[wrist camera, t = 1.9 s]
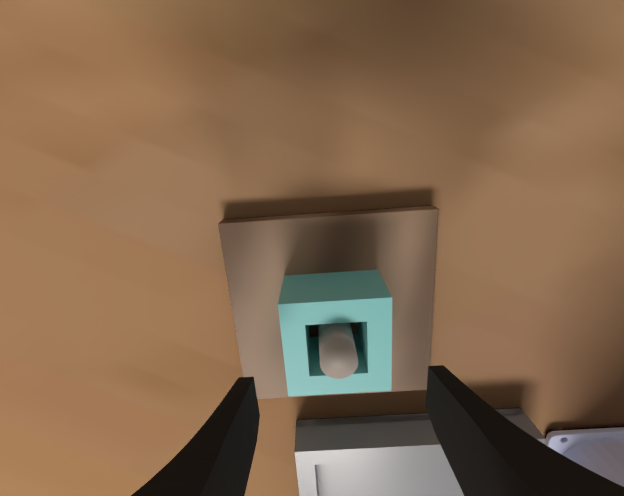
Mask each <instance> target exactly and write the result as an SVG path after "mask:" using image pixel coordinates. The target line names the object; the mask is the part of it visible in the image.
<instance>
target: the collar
mask: <svg viewBox="0 0 624 496" xmlns="http://www.w3.org/2000/svg"><path fill="white" fill-rule="evenodd" d="M278 311H279V320H280V329H281V337H282V346H283V355H284V364H285V373H286V381H287V390H288V397H289V396H307V395H325V394H343V393H361V392H379V391H391V383H392V296H391V294H390V292H389V290H388V288H387V286H386V284H385V282H384V281H383V279H382V277H381V275H380V273H379V271H378V270H364V271H348V272H332V273H316V274H301V275H285V276H284V278H283V282H282V287H281V292H280V296H279V301H278ZM349 322H358V334H354V335H353V338H354V343H355V348H356V352H357V357H358V367H357V369H356V371H355V372H354V373H353V374H352V375H350V376H348V377H346V378H342V379H335V378H331V377H329V376H327V375H326V374H324V372H323V371H322V370H321V367H320V356H319V337H310V333H309V325H316V324H333V323H349Z"/></svg>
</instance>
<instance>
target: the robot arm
mask: <svg viewBox="0 0 624 496" xmlns="http://www.w3.org/2000/svg"><path fill="white" fill-rule="evenodd" d="M426 408H427V411H428V414H429V417H430V420H431V423H432V426H433V429H434V432H435V434H436V436H437V438H438V440H439V443H440V445H441V447H442V449H443V451H444V453H445V456H446V458H447V460H448V462H449V464H450V466H451V468H452V471H453V473H454V475H455V477H456V479H457V481H458V483H459V485H460V488H461V490H462V492H463V494H464V496H624V427H618V428H599V429H580V430H561V431H551V432H549V433H548V434H547V436H546V441H545V444H543V443H542V442H540V441H539V440H537V439H536V438H534V437H533V436H531V435H530V434H528V433H527V432H525V431H524V430H522V429H521V428H519V427H518V426H516V425H515V424H513V423H512V422H511V421H509V420H508V419H507V418H505V417H504V416H503V415H501V414H500V413H499V412H497V411H496V410H495V409H493V408H492V407H491V406H490V405H488V404H487V403H486V402H485V401H484V400H482V399H481V398H480V397H479V396H478V395H476V394H475V393H474V392H473V391H472V390H470V389H469V388H468V387H467V386H466V385H465V384H464V383H462V382H461V381H460V380H459V379H458V378H457V377H456V376H455V375H453V374H452V373H451V372H450V371H449V370H448V369H447V368H445V367H444V366H443V365H441V366H428V378H427V396H426ZM259 417H260V415H259V408H258V401H257V395H256V388H255V382H254V377H239V378H238V379H237V381H236V382H235V383H234V385H233V386H232V388H231V389H230V391H229V392H228V393H227V395H226V396H225V398H224V399H223V400H222V402H221V403H220V405H219V406H218V407H217V408H216V410H215V411H214V412H213V414H212V415H211V416H210V418H209V419H208V420H207V421H206V423H205V424H204V425H203V426H202V427H201V429H200V430H199V431H198V432H197V433H196V434H195V436H194V437H193V438H192V439H191V440H190V441H189V442H188V444H187V445H186V446H185V447H184V448H183V449H182V450H181V451H180V452H179V453H178V454H177V455H176V456H175V457H174V458H173V459H172V460H171V461H170V462H169V463H168V464H167V465H166V466H165V467H164V468H163V469H162V470H160V471H159V472H158V473H157V474H156V475H155V476H154V477H153V478H152V479H151V480H149V481H148V482H147V483H146V484H145V485H144V486H142V487H141V488H140V489H139V490H137V491H136V492H135V493H134V494H133V495H131V496H244V494H245V490H246V486H247V482H248V477H249V473H250V469H251V464H252V460H253V455H254V451H255V447H256V442H257V434H258V426H259Z"/></svg>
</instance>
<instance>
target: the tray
mask: <svg viewBox="0 0 624 496" xmlns="http://www.w3.org/2000/svg"><path fill="white" fill-rule="evenodd" d="M495 410H496V411H497V412H499V413H500V414H501V415H503V416H504V417H505V418H507V419H508V420H509V421H511V422H512V423H513V424H515V425H516V426H518V427H519V428H521V429H522V430H524V431H525V432H527V433H528V434H530V435H531V436H533V437H534V438H536V439H537V440H539V441H540V442H542V443H543V444H545V440H546V439H545V438H544V436H543V435H542V434H541V433H540V431H539V430H538V429H537V428H536V426H535V425H534V424H533V422H532V421H531V420H530V419H529V417H528V416H527V415H526V414H525V412H524V411H523V410H522V409H521V408H512V409H495ZM295 459H296V468H297V477H298V486H299V495H300V496H464V494H463V492H462V490H461V488H460V485H459V483H458V481H457V479H456V477H455V475H454V473H453V471H452V468H451V466H450V464H449V462H448V460H447V458H446V456H445V453H444V451H443V449H442V447H441V445H440V443H439V440H438V438H437V436H436V434H435V432H434V429H433V426H432V423H431V420H430V417H429V414H428V413H420V414H402V415H383V416H365V417H346V418H328V419H309V420H296V438H295Z"/></svg>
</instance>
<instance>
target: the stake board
mask: <svg viewBox="0 0 624 496" xmlns="http://www.w3.org/2000/svg"><path fill="white" fill-rule="evenodd" d="M438 211H439V209H438V208H436V207H434V206H419V207H404V208H389V209H374V210H359V211H345V212H330V213H315V214H300V215H285V216H271V217H256V218H241V219H226V220H222V221H221V222H220V223H219V224H218V226H219V232H220V238H221V244H222V250H223V256H224V262H225V268H226V275H227V281H228V287H229V293H230V299H231V305H232V311H233V317H234V323H235V330H236V336H237V342H238V348H239V354H240V360H241V366H242V372H243V377H254V382H255V388H256V395H257V399H268V398H286V397H288V390H287V381H286V373H285V364H284V355H283V346H282V337H281V329H280V320H279V311H278V301H279V296H280V292H281V287H282V282H283V278H284V276H285V275H301V274H316V273H332V272H348V271H364V270H378V271H379V273H380V275H381V277H382V279H383V281H384V282H385V284H386V286H387V288H388V290H389V292H390V294H391V296H392V383H391V391H379V392H394V391H412V390H427V378H428V366H430V357H431V339H432V321H433V303H434V284H435V266H436V248H437V230H438ZM309 333H310V337H319V356H320V367H321V370H322V371H323V372H324V374H326V375H327V376H329V377H331V378H335V379H342V378H346V377H348V376H350V375H352V374H353V373H354V372H355V371H356V369H357V367H358V357H357V352H356V348H355V343H354V338H353V335H354V334H358V322H349V323H333V324H316V325H309ZM361 393H376V392H361ZM343 394H358V393H343ZM325 395H340V394H325ZM307 396H322V395H307ZM289 397H304V396H289Z"/></svg>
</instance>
